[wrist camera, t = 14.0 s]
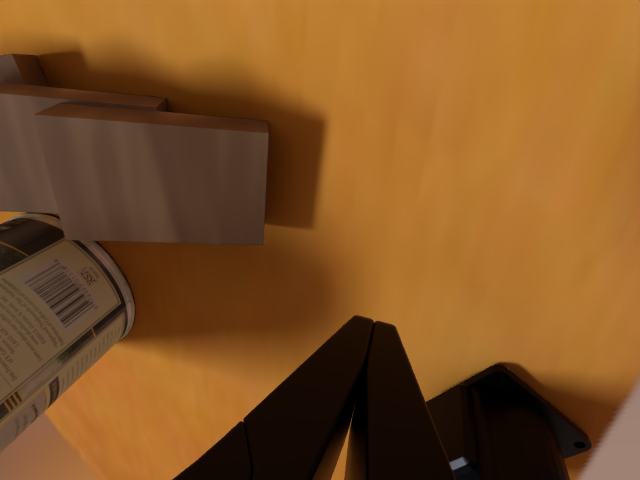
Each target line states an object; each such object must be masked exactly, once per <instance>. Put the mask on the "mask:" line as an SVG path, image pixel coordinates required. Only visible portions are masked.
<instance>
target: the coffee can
mask: <svg viewBox="0 0 640 480" xmlns="http://www.w3.org/2000/svg"><path fill="white" fill-rule="evenodd" d="M134 317H135V305H134V301H133V296H132V293H131V290H130V288H129V285H128V283H127V280H126V279H125V278H124V276H123V274H122V273H121V271H120V270H119V268H118V267H117V265H116V264H115V262H114V261H113V260H112V259H111V257H110V256H109V255H108V254H107V253H106V252H105V251H104V250H103V248H101V247H100V246H99V245H98V244H97V243H96V242H95V241H88V240H65V236H64V232H63V228H62V224H61V220H60V219H58V218H56V217H53V216H50V215H45V214H40V213H24V214H20V215H17V216H15V217H13V218H11V219H9V220H8V221H7V222H4V223H2V224H0V453H1V452H2V451H3V450H4V449H5V448H6V447H7V446H8V445H9V444H10V443H11V442H13V441H14V440H15V439H16V438H17V437H18V436H19V435H20V434H21V433H22V432H23V431H24V430H25V429H26V428H27V427H28V426H29V425H30V424H32V423H33V422H34V421H35V420H36V419H37V418H38V417H39V416H40V415H41V414H42V413H43V412H44V411H45V410H47V409H48V408H49V407H50V406H51V405H52V404H53V403H54V402H55V401H56V400H57V399H58V398H59V397H60V396H61V395H62V394H63V393H64V392H65V391H66V390H67V389H68V388H69V387H70V386H72V385H73V384H74V383H75V382H76V381H77V380H78V379H79V378H80V377H81V376H82V375H83V374H84V373H85V372H86V371H87V370H88V369H89V368H90V367H91V366H92V365H94V364H95V363H96V362H97V361H98V360H99V359H100V358H101V357H102V356H103V355H104V354H105V353H106V352H107V351H108V350H109V349H110V348H111V347H112V346H114V345H115V344H116V343H117V342H118V341H119V340H121V339H122V338H124V337H125V336H126V335H127V334H128V332H129V331H130V329H131V328H132V327H133V322H134Z"/></svg>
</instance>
